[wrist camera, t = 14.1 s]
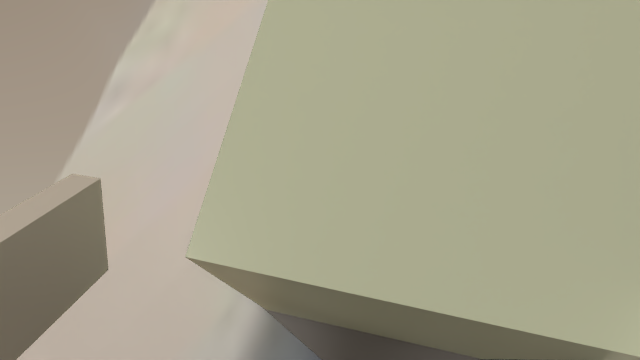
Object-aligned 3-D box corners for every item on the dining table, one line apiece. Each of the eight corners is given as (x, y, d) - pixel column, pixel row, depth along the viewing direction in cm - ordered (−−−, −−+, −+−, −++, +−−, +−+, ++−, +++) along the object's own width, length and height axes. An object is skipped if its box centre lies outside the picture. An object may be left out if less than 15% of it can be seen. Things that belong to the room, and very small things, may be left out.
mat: (360, 61, 27) (360, 57, 27) (578, 204, 24) (583, 202, 23) (191, 245, 24) (189, 243, 23) (420, 445, 20) (421, 447, 20)
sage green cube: (500, 158, 24) (647, -24, 13) (481, 359, 21) (658, 360, 9) (313, 124, 25) (291, -71, 14) (266, 309, 22) (185, 256, 10)
